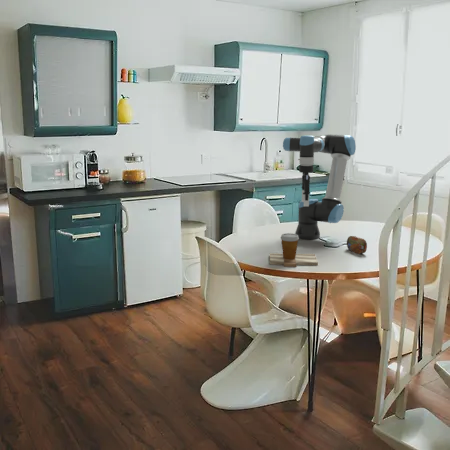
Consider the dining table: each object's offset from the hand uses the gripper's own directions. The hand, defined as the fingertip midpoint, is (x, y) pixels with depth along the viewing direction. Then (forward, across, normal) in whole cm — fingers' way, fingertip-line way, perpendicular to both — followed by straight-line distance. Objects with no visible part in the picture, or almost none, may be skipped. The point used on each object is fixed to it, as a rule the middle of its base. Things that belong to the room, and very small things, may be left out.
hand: (305, 204), depth 294 cm
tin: (+27, -1, +29) cm, 40 cm away
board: (+27, +18, -7) cm, 33 cm away
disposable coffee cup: (+25, +18, -9) cm, 32 cm away
